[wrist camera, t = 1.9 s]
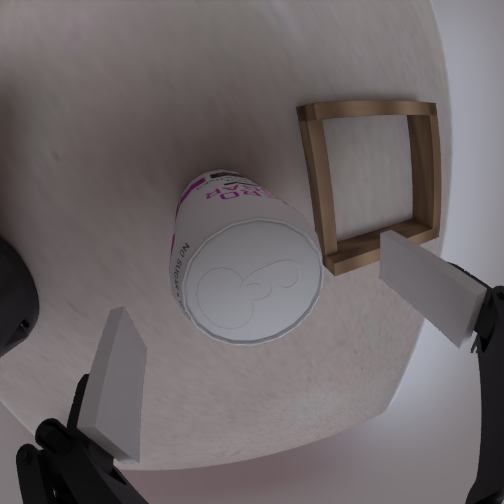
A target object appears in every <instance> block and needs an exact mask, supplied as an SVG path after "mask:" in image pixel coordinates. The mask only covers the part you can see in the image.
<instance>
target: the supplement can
mask: <svg viewBox="0 0 504 504" xmlns="http://www.w3.org/2000/svg"><path fill="white" fill-rule="evenodd" d="M169 272H170V280H171V287H172V294H173V296H174V298H175V299H176V301H177V303H178V304H179V306H180V308H181V309H182V311H183V313H184V314H185V315H186V316H187V317H188V318H190V319H191V320H192V322H193V323H194V325H195V326H196V327H197V328H198V329H200V330H201V331H202V332H203V333H205V334H206V335H208V336H209V337H210V338H212V339H214V340H217V341H220V342H223V343H227V344H230V345H258V344H262V343H266V342H269V341H273V340H276V339H278V338H280V337H282V336H283V335H285V334H287V333H288V332H290V331H292V330H293V329H295V328H296V327H297V326H298V325H299V324H300V323H301V322H302V321H303V320H304V319H305V318H306V317H307V316H308V315H309V314H310V313H311V312H312V310H313V308H314V306H315V304H316V302H317V300H318V298H319V296H320V295H321V292H322V285H323V279H324V268H323V263H322V253H321V248H320V244H319V240H318V236H317V233H316V232H315V231H314V229H313V228H312V226H311V225H310V224H309V222H308V221H307V219H306V218H305V217H304V215H303V214H301V213H300V212H299V211H297V210H296V209H294V208H293V207H291V206H290V205H288V204H287V203H285V202H284V201H282V200H281V199H279V198H278V197H276V196H275V195H273V194H272V193H270V192H269V191H267V190H265V189H264V188H262V187H261V186H259V185H258V184H256V183H255V182H253V181H251V180H250V179H248V178H246V177H245V176H243V175H241V174H239V173H238V172H236V171H229V170H222V169H219V170H214V171H209V172H205V173H203V174H202V175H200V176H198V177H197V178H195V179H194V180H192V181H191V182H190V183H189V185H188V186H187V187H186V188H185V190H184V191H183V192H182V194H181V197H180V200H179V204H178V207H177V212H176V219H175V226H174V233H173V241H172V249H171V257H170V266H169Z"/></svg>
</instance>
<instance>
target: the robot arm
mask: <svg viewBox="0 0 504 504" xmlns="http://www.w3.org/2000/svg"><path fill="white" fill-rule="evenodd" d="M379 278H380V279H381V280H382V281H384V282H385V283H386V284H387V285H388V286H390V287H391V288H392V289H393V290H394V291H396V292H397V293H398V294H399V295H400V296H401V297H403V298H404V299H405V300H406V301H407V302H408V303H410V304H411V305H412V306H413V307H414V308H415V309H416V310H418V311H419V312H420V313H421V314H422V315H423V316H424V317H425V318H427V319H428V320H429V321H430V322H431V323H432V324H433V325H434V326H435V327H437V328H438V329H439V330H440V331H441V332H442V333H443V334H444V335H445V336H446V337H447V338H448V339H449V340H450V341H451V342H453V343H454V344H455V345H456V346H457V347H458V348H461V347H462V346H463V345H465V344H466V343H467V342H469V341H470V338H471V336H472V333H473V330H474V331H475V332H477V333H478V334H477V336H476V339H475V341H474V343H473V346H472V348H471V353H473V351H474V349H475V347H476V346H477V350H476V353H478V361H479V370H480V383H481V404H482V405H481V406H482V419H481V420H482V422H481V444H480V456H479V464H478V472H477V477H476V481H475V483H474V484H473V486H472V488H471V489H470V491H469V493H468V496H467V499H466V503H465V504H501V503H502V501H503V500H504V286H496V287H494V288H493V289H492V288H491V287H489V286H488V285H487V284H485V283H483V282H482V281H481V280H479V279H478V278H476V277H475V276H473V275H470V273H468V272H467V271H464V269H462V268H461V267H459V266H457V265H455V264H452V263H449V262H446V261H444V260H443V259H441V258H440V257H438V256H436V255H435V254H433V253H431V252H430V251H428V250H426V249H424V248H423V247H421V246H419V245H418V244H416V243H414V242H412V241H411V240H409V239H407V238H405V237H404V236H402V235H400V234H398V233H396V232H394V231H393V230H388V231H385V232H382V233H380V277H379ZM38 312H39V305H38V297H37V293H36V289H35V286H34V283H33V281H32V278H31V276H30V274H29V272H28V270H27V268H26V266H25V264H24V263H23V261H22V260H21V258H20V257H19V255H18V254H17V253H16V252H15V250H14V249H13V248H12V247H11V246H10V245H9V244H8V243H7V242H6V241H4V240H3V239H2V238H0V358H1V357H2V356H3V355H5V354H6V353H7V352H9V351H10V350H11V349H13V348H14V347H16V346H17V345H18V344H20V343H21V342H23V341H24V340H25V339H26V338H27V337H28V336H29V334H30V333H31V331H32V329H33V328H34V326H35V324H36V322H37V319H38ZM146 355H147V347H146V345H145V344H144V342H143V340H142V338H141V337H140V335H139V333H138V331H137V329H136V328H135V326H134V324H133V322H132V320H131V318H130V316H129V315H128V313H127V311H126V309H125V307H120V308H116V309H112V310H111V311H110V314H109V316H108V319H107V322H106V325H105V328H104V330H103V333H102V336H101V339H100V342H99V345H98V348H97V352H96V355H95V358H94V361H93V364H92V368H91V371H90V374H84V375H83V377H82V378H81V380H80V381H79V383H78V385H77V389H76V392H75V396H74V399H73V403H72V407H71V411H70V415H69V419H68V423H67V427H65V426H64V425H62V424H61V423H60V422H59V421H58V420H57V419H54V418H49V419H46V420H44V421H43V422H42V423H41V424H40V425H39V426H38V428H37V430H36V434H35V440H36V443H37V444H38V445H40V446H41V447H42V448H43V449H42V450H38V449H37V448H35V447H34V446H33V445H31V444H24V445H23V446H21V447H20V449H19V450H18V452H17V455H16V465H17V472H18V479H19V485H20V490H21V495H22V500H23V504H149V503H148V502H147V501H145V499H144V498H143V497H142V496H141V495H140V494H139V493H138V492H137V491H136V490H135V488H134V487H133V486H132V485H131V484H130V483H129V482H128V480H127V479H126V478H125V477H124V476H123V475H122V473H121V472H120V471H119V470H118V468H116V467H115V466H114V465H113V459H114V458H115V459H116V460H118V461H119V462H121V463H122V464H132V463H139V458H140V425H141V408H142V394H143V383H144V373H145V363H146ZM53 491H55V495H54V492H53ZM55 496H56V497H55Z"/></svg>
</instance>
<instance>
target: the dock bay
mask: <svg viewBox="0 0 504 504" xmlns="http://www.w3.org/2000/svg"><path fill="white" fill-rule="evenodd" d="M296 109H297V114H298V119H299V124H300V130H301V135H302V141H303V146H304V152H305V158H306V165H307V171H308V177H309V184H310V191H311V198H312V206H313V214H314V222H315V230H316V233H317V236H318V240H319V244H320V248H321V253H322V263H323V265H324V266H325V267H326V268H327V269H328V270H329V271H330V272H331V273H332V274H333V275H334V276H337V275H340V274H343V273H346V272H348V271H351V270H354V269H357V268H360V267H362V266H365V265H368V264H371V263H373V262H376V261H379V260H380V233H382V232H385V231H388V230H393V231H394V232H396V233H398V234H400V235H402V236H404V237H405V238H407V239H409V240H411V241H412V242H414V243H416V244H418V245H420V244H422V243H425V242H427V241H430V240H432V239H435V238H437V237H439V230H440V215H441V153H440V138H439V127H438V118H437V110H436V103H428V102H413V101H384V100H369V101H339V102H324V103H313V104H309V105H305V106H300V107H296ZM371 115H407V119H408V127H409V136H410V146H411V159H412V179H413V219H411V220H408V221H405V222H402V223H399V224H396V225H393V226H389V227H386V228H383V229H380V230H377V231H374V232H370V233H367V234H364V235H361V236H358V237H354V238H351V239H348V240H345V241H341V242H338V243H337V237H336V225H335V214H334V204H333V195H332V186H331V178H330V170H329V163H328V156H327V149H326V142H325V136H324V130H323V124H322V119H329V118H340V117H353V116H371Z"/></svg>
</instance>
